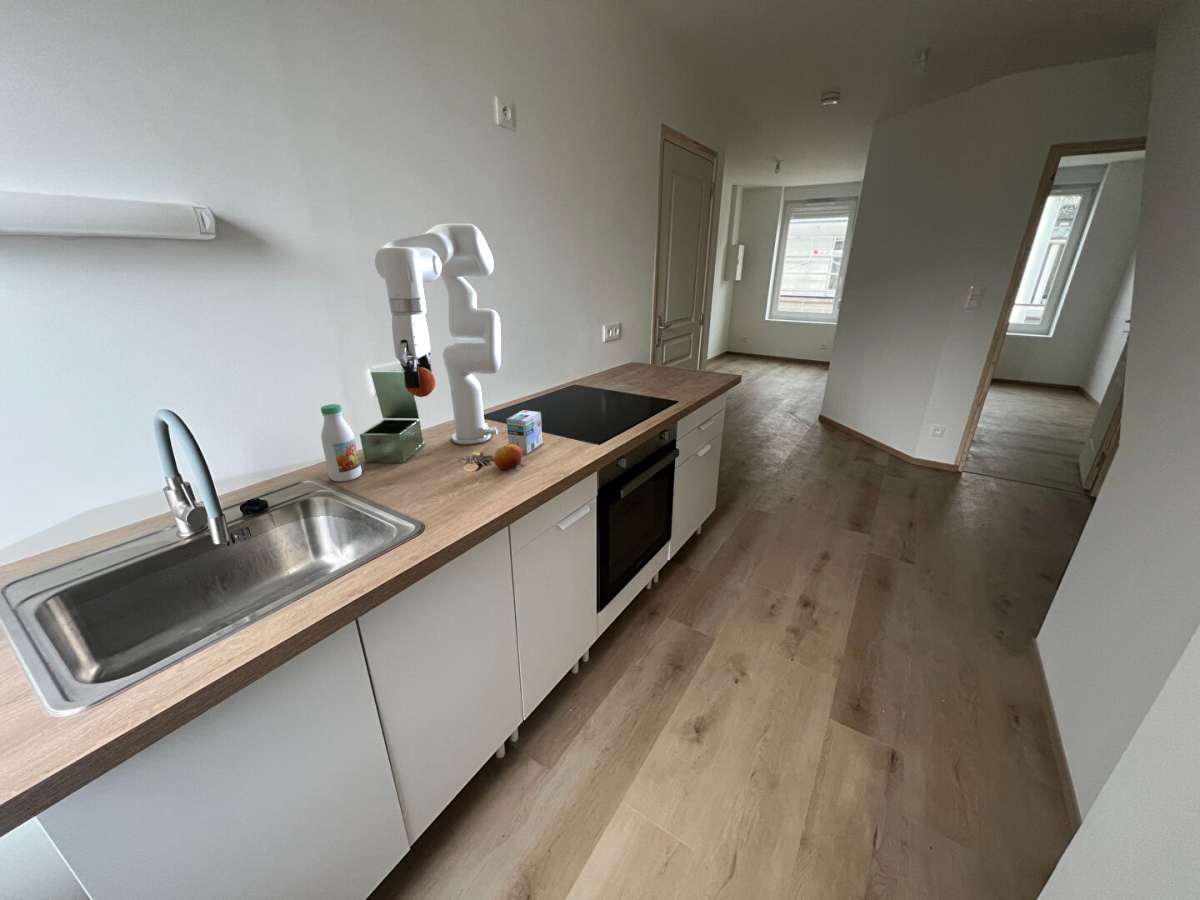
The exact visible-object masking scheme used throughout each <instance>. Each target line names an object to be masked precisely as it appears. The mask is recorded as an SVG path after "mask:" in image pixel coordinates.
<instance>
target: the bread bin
mask: <svg viewBox="0 0 1200 900" xmlns="http://www.w3.org/2000/svg"><path fill="white" fill-rule="evenodd" d="M359 438H360V443H361V448H362V451H363V456H364V462H365V463H366V464H367V463H371V464H372V463H373V464H376V463H380V464H381V463H383V464H388V463H389V464H391V463H392V464H400V463H401V464H405V463H406V462H407V461H408V460H409V459H411V457H412V456H414V455H415V454H416V453H417V452H418V451H419V450H420V449H421V448H422V447H424V440H423V439H424V438H423V432H422V427H421V420H420V418H419V419H400V418H382V419H381V420H380V421H378V422H377V423H375V424H374V425H372V426H370V427H369V428H367V429H366V430H364V431H362V432H361V433H360V434H359Z"/></svg>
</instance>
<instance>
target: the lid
mask: <svg viewBox="0 0 1200 900" xmlns="http://www.w3.org/2000/svg"><path fill="white" fill-rule="evenodd" d="M370 375H371V379H372V383H373V387H374V390H375V394H376V398H377V402H378V405H379V409H380V414H381V416H382V419H419V420H420V419H421V418H420V417H421V416H420V412H419V408H418V404H417V400H416V396H415V395H413V394H411V393H410V392H408V390H407V389H406V387H405V384H404V377H405V376H404V372H403V370H387V371H385V370H384V371H383V370H376V371H375V370H371V371H370Z"/></svg>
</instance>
